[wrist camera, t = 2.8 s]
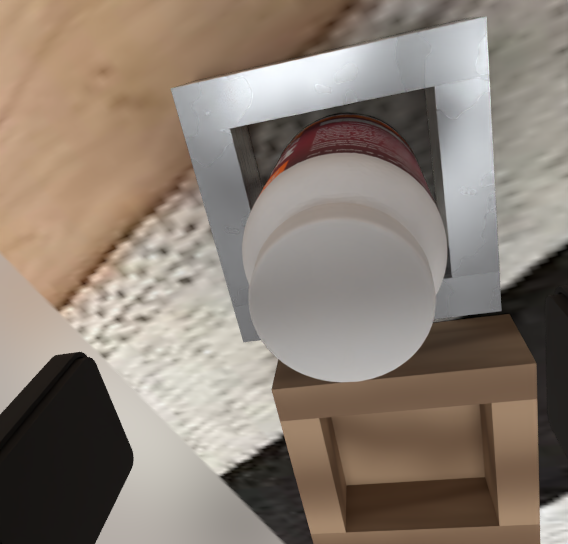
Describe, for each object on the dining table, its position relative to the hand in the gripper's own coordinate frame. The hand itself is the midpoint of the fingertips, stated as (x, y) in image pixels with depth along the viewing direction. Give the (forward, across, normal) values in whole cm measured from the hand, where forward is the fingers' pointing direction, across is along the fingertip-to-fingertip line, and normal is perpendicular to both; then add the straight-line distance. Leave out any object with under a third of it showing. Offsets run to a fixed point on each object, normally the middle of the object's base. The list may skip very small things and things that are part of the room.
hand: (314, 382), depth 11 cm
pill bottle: (+14, -1, 0) cm, 14 cm away
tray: (+14, -2, +12) cm, 19 cm away
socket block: (+14, -1, 0) cm, 14 cm away
